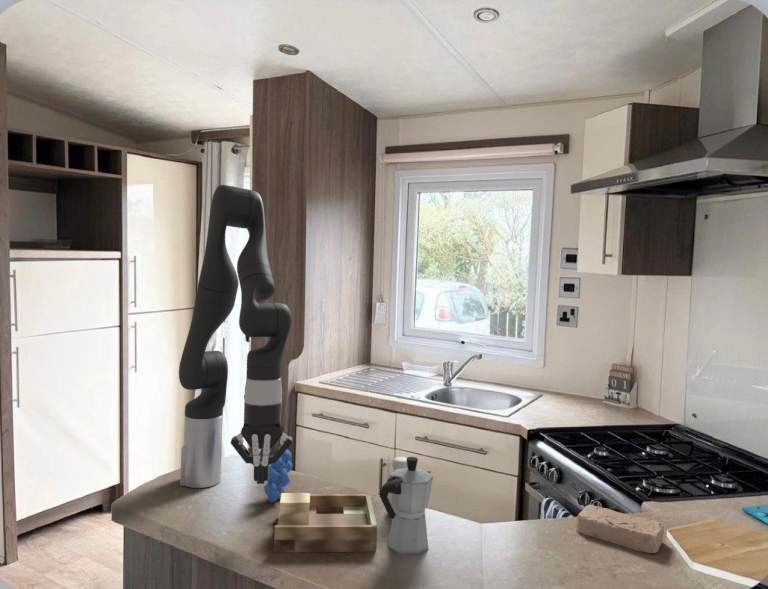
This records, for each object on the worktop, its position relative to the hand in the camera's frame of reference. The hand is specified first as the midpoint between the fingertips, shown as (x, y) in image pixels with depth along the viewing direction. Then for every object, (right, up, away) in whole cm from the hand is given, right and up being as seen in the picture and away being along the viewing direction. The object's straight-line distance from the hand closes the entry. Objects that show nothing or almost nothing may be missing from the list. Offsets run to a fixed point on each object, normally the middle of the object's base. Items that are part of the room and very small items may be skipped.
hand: (260, 482), depth 115 cm
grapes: (-1, -10, +19) cm, 21 cm away
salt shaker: (+29, -12, +13) cm, 34 cm away
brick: (+77, -15, +7) cm, 79 cm away
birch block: (+7, -9, +1) cm, 11 cm away
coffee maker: (+30, -13, -2) cm, 32 cm away
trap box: (+13, -11, +2) cm, 17 cm away
